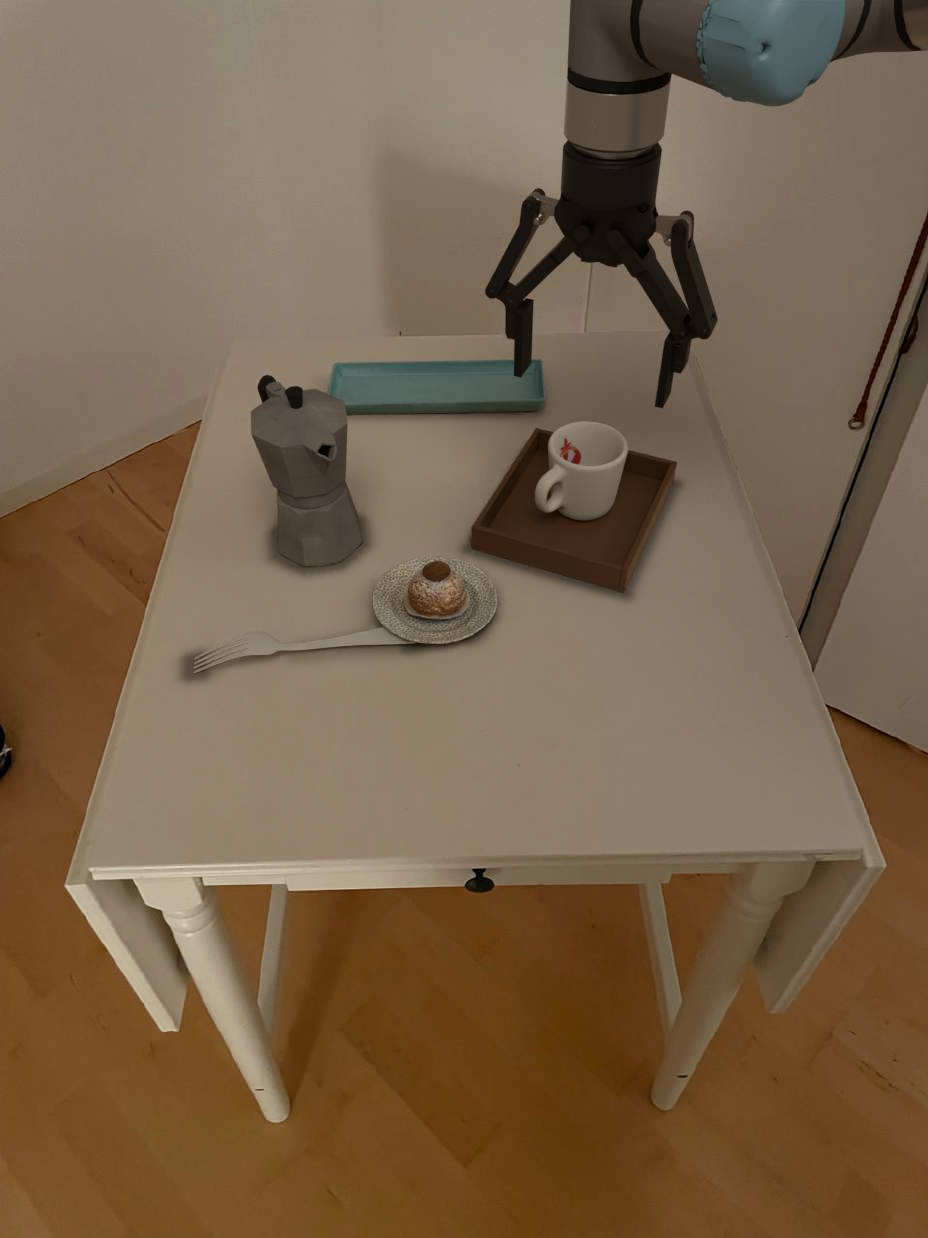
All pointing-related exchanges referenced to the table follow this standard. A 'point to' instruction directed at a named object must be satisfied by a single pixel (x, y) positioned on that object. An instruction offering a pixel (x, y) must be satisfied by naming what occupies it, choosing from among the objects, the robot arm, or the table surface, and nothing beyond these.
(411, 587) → the pastry
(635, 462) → the tray
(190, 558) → the table surface
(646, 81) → the robot arm
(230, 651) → the fork
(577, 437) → the cup
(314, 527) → the coffeepot
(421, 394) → the shallow long dish
